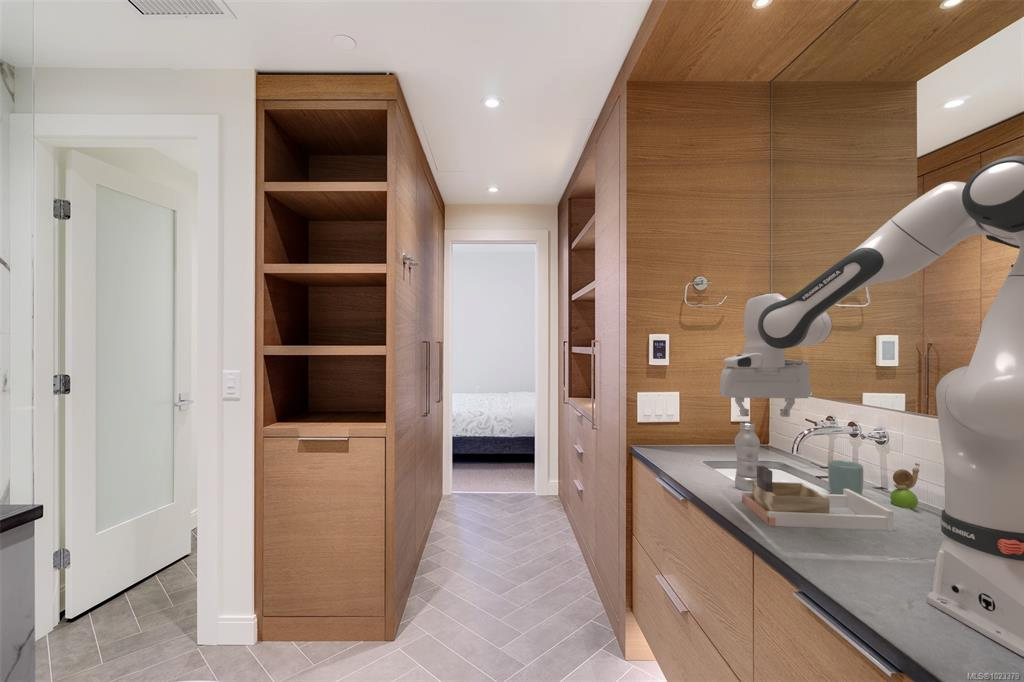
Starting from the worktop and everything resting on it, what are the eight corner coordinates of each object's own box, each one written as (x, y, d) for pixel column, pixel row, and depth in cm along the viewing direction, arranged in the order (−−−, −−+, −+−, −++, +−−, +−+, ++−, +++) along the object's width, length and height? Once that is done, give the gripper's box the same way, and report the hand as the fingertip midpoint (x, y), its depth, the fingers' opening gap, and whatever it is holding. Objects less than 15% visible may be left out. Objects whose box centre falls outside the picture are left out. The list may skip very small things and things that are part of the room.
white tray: (893, 536, 101) (893, 511, 101) (769, 531, 104) (769, 506, 104) (848, 510, 117) (848, 488, 117) (742, 506, 120) (742, 485, 120)
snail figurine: (928, 514, 114) (927, 466, 114) (901, 513, 115) (901, 466, 115) (909, 506, 120) (909, 460, 120) (884, 505, 120) (884, 460, 120)
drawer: (829, 524, 104) (829, 476, 104) (772, 522, 106) (772, 475, 106) (801, 506, 116) (801, 463, 116) (751, 504, 117) (751, 461, 118)
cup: (863, 507, 119) (863, 469, 119) (827, 501, 124) (827, 464, 124) (863, 499, 125) (863, 463, 125) (829, 493, 130) (828, 458, 130)
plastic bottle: (764, 496, 127) (763, 425, 127) (738, 495, 128) (737, 424, 129) (756, 489, 133) (756, 421, 134) (731, 488, 135) (731, 420, 135)
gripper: (802, 359, 114) (802, 415, 114) (717, 359, 116) (717, 413, 116) (816, 360, 108) (816, 419, 107) (726, 360, 110) (726, 417, 110)
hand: (764, 416), depth 112 cm, fingers open, 8 cm apart
